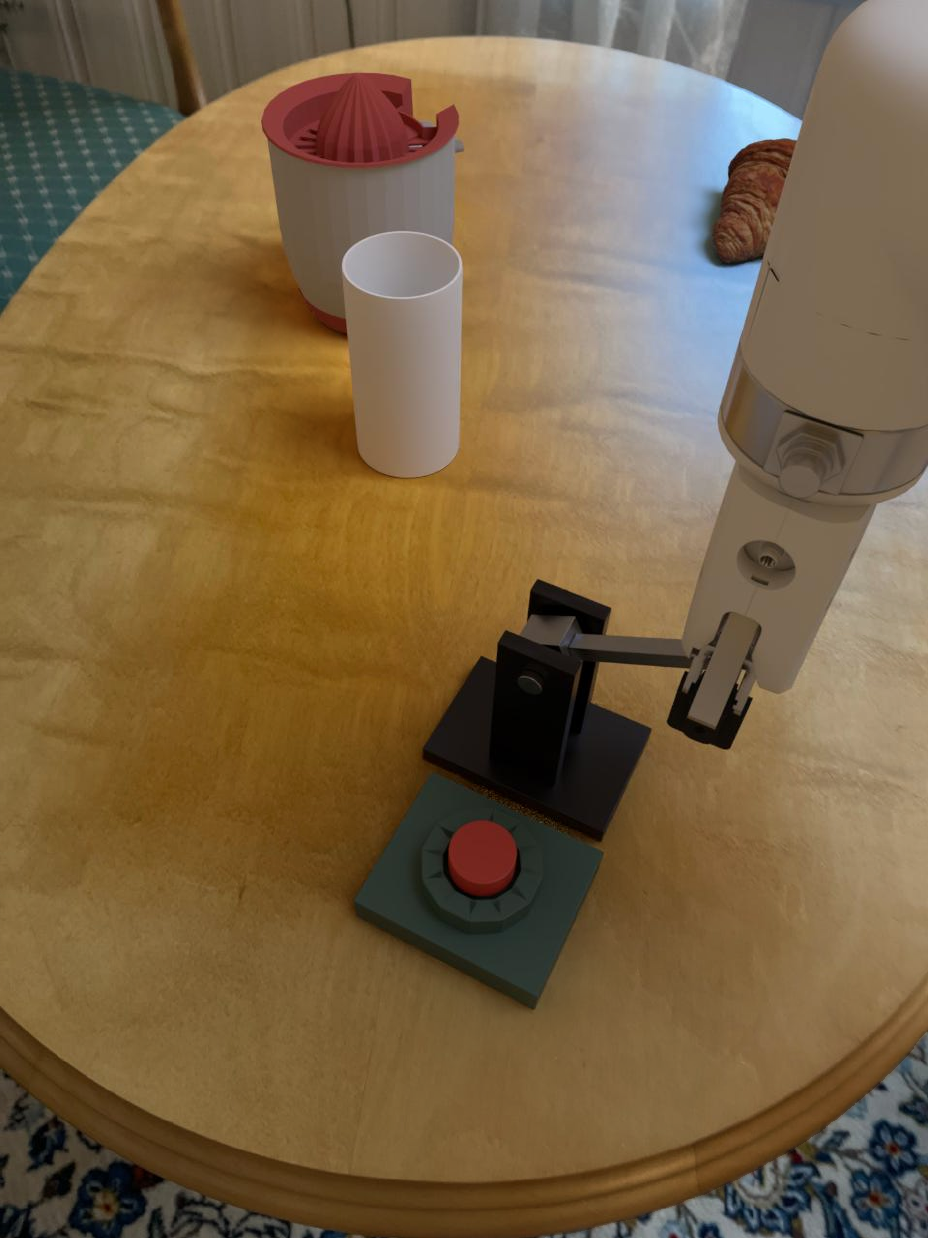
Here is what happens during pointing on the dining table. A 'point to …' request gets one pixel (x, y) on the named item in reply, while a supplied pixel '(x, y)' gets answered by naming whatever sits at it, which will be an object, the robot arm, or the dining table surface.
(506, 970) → the button box
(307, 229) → the citrus juicer
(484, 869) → the button
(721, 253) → the pastry
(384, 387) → the cup
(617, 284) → the dining table surface
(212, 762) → the dining table surface
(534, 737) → the bracket
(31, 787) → the dining table surface
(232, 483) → the dining table surface
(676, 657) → the lever
